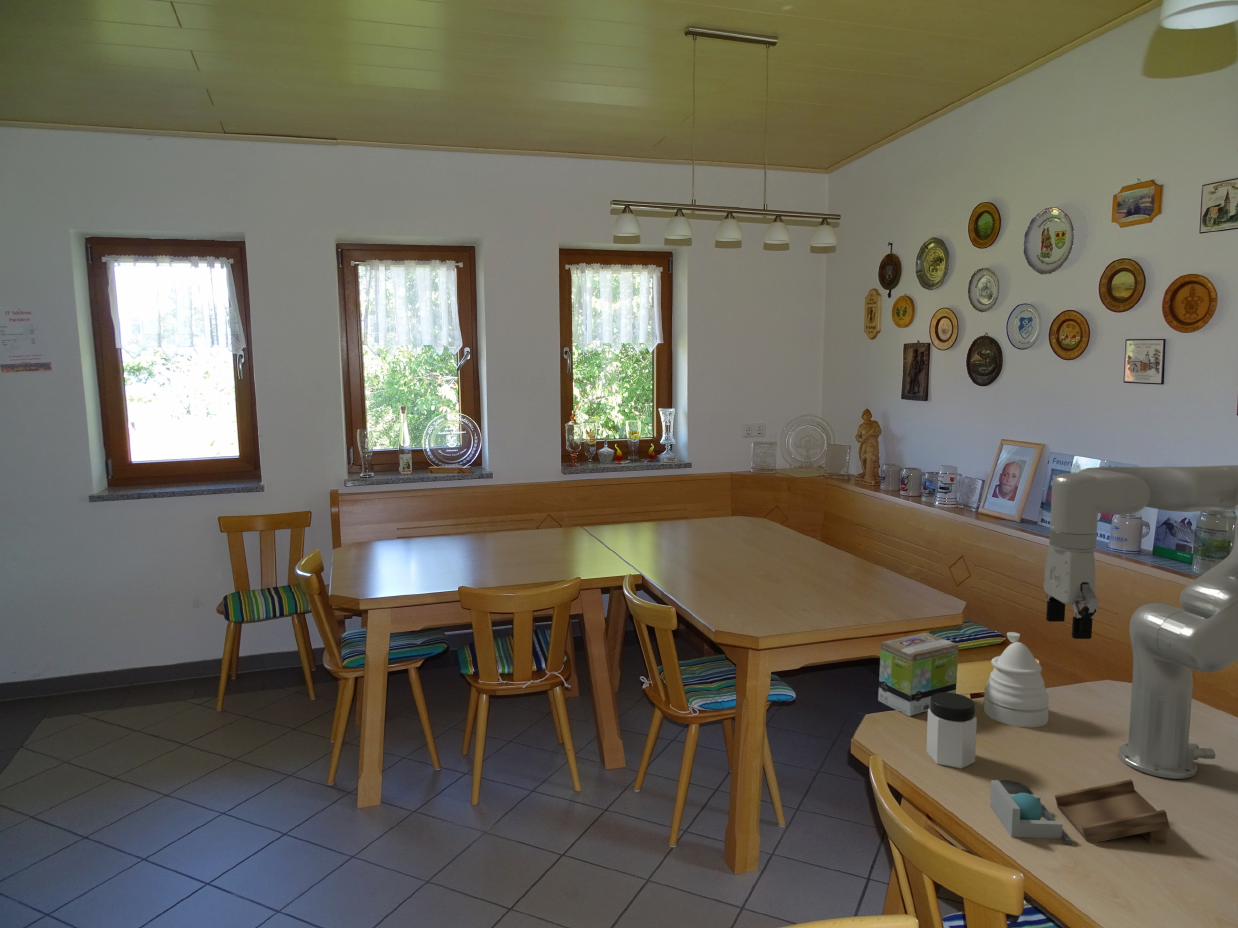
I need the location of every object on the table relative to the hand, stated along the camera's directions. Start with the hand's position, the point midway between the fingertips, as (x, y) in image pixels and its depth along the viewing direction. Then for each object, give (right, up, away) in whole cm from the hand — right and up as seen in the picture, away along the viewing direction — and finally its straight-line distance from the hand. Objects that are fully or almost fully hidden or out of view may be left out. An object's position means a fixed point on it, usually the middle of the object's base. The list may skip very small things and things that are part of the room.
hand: (1067, 629), depth 145 cm
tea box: (-15, -25, +35) cm, 45 cm away
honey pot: (+5, -25, +28) cm, 38 cm away
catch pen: (-15, -30, -13) cm, 36 cm away
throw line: (-11, -30, -13) cm, 35 cm away
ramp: (-1, -30, -14) cm, 33 cm away
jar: (-18, -28, +9) cm, 35 cm away
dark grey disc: (-12, -29, -3) cm, 32 cm away
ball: (-15, -28, -13) cm, 34 cm away
